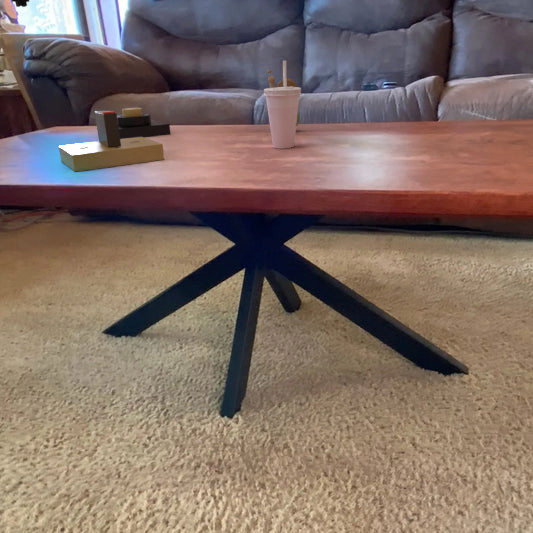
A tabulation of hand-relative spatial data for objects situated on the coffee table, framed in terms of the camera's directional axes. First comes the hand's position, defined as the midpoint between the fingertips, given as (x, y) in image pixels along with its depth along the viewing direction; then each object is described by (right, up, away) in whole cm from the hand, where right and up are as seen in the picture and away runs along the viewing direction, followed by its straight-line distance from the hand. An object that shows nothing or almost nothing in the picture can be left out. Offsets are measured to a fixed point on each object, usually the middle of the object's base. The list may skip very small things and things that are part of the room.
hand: (21, 6), depth 99 cm
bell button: (+20, -19, +8) cm, 29 cm away
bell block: (+20, -23, +9) cm, 31 cm away
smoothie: (+51, -30, -9) cm, 59 cm away
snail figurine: (+51, -23, +7) cm, 56 cm away
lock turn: (+22, -31, -17) cm, 42 cm away
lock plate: (+22, -33, -16) cm, 43 cm away
